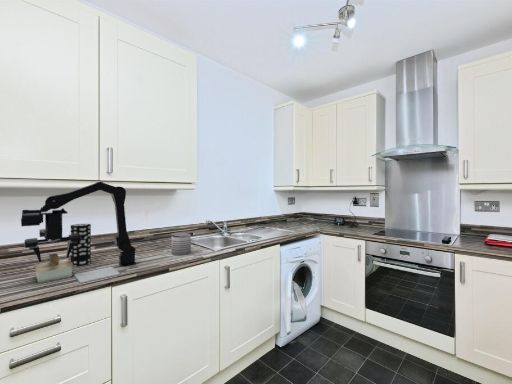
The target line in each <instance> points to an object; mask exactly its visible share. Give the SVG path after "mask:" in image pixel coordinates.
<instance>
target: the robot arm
mask: <svg viewBox="0 0 512 384" xmlns="http://www.w3.org/2000/svg"><path fill="white" fill-rule="evenodd" d="M97 191H98V192H99V191H101V192H105V193H108V194H110V195H111V199H112V201H113V204H114V209H115V221H116V229H117V232H116V235H113V239H114V242H113V244H114V245H115V246H116V247H117V248H118V249H119V250H120V251H119V255H118V264H119V265H121V267H126V266H130V265H131V266H132V265H135V264H137V262H136V251H137V250H136V248H135V247H134V246H133V245H131V244H132V243H131V239H130V236H129V234H128V231H127V223H126V222H127V221H126V211H125V209H126V208H125V202H126V195H127V191H126V188H124V187H123V186H114V185H111V184H108V183H105V182H103V181H96V182H95V183H92V184H90V185H87V186H84V187H81V188H78V189H75V190H72V191H70V192H69V191H68V192H65V193H59V194H58V193H57V194H55V195H54V194H53V195H50V196H48V197H46V200H45V203H44V205H43V206H42V207H40V209H23V210H22V211H21V218H20V224H21V225H20V226H21V227H33V226H41V224H44V222H45V224H44V225H45V228H42V229H41V228H40V229H39V237H40V238H41V239H38V238H37V237H33V238H26V239H24V240H23V241H24V242H23V243H24V244H23V245H24V248H25V249H29V250H33V252H34V253H35V255H36V257H37V259H38V262H39V263H42V257H41V252H40V247H39V245H44V244H52V243H53V244H54V243H59V242H67V248H66V259H69V257H70V256H71V250H72V248H73V247H74V245H75V244H77V243H78V241H81V236H80V235H79V234H71V233H70V234H68V236H63V215H64V214H68V211H67V210H65V208H64V207H63V206H65V205H66V204H68V203H70V202H72V201H74V200H76V199H79V198H81V197H84V196H87V195H90V194H92V193H96V192H97ZM59 208H61V209H59ZM50 210H52V211H51V212H49V211H50ZM44 216H45V219H44ZM42 238H43V239H42Z"/></svg>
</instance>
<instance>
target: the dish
mask: <svg viewBox="0 0 512 384" xmlns="http://www.w3.org/2000/svg"><path fill="white" fill-rule="evenodd" d="M72 271H73V266H72V267H67V268H61V269H55V270H50V271H44V272H38V273H36V272H35V277H36V281H37V283H38V284H42V283H46V282H52V281H56V280H61V278H62V279H65V278H66V277H67V278H71V276H73V275H72V273H73V272H72Z"/></svg>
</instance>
